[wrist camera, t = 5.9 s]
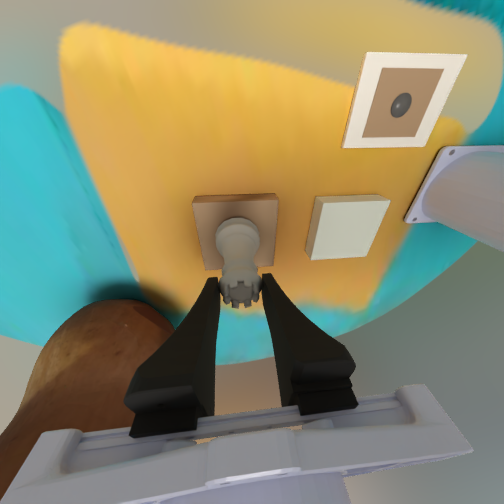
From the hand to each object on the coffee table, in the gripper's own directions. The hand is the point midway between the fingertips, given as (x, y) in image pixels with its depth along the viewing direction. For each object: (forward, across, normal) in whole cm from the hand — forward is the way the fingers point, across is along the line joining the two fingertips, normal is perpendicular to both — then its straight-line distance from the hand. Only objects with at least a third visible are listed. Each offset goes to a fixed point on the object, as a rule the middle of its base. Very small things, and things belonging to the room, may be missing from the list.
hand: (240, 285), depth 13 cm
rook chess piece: (+7, 0, 0) cm, 7 cm away
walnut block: (+9, 0, 0) cm, 9 cm away
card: (+9, -14, -11) cm, 20 cm away
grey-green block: (+9, -12, 0) cm, 15 cm away
